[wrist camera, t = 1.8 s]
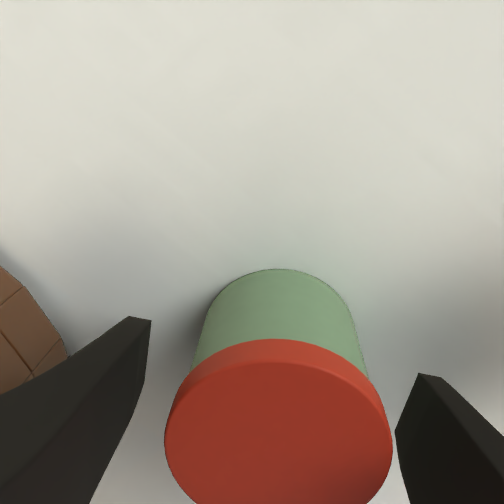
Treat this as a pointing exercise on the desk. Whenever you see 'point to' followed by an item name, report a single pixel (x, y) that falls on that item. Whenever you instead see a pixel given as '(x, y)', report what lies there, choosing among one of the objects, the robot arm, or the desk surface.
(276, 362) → the container
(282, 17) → the desk surface
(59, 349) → the bowl
